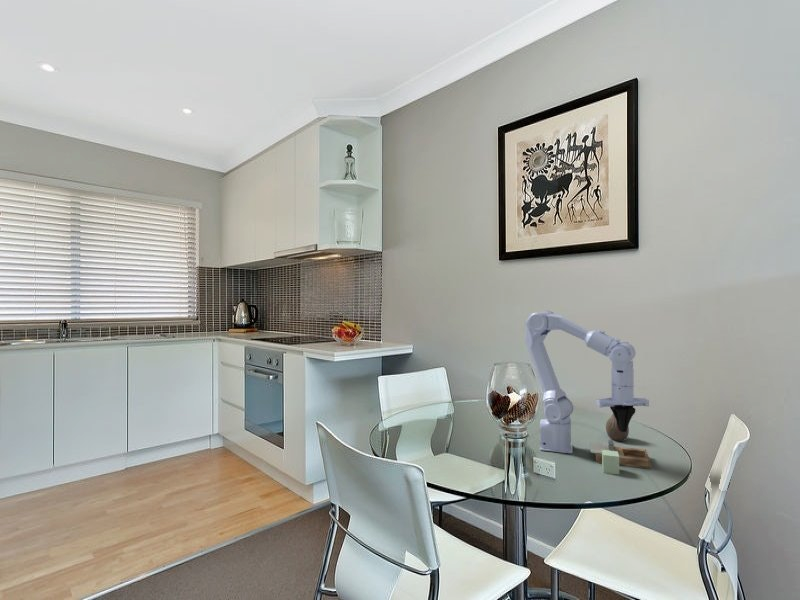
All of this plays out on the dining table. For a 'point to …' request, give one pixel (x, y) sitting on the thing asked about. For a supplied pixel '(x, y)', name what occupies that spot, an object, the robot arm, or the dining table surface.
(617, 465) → the block
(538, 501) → the dining table surface
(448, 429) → the dining table surface
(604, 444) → the cover
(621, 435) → the vase
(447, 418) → the dining table surface
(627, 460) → the wooden tray
